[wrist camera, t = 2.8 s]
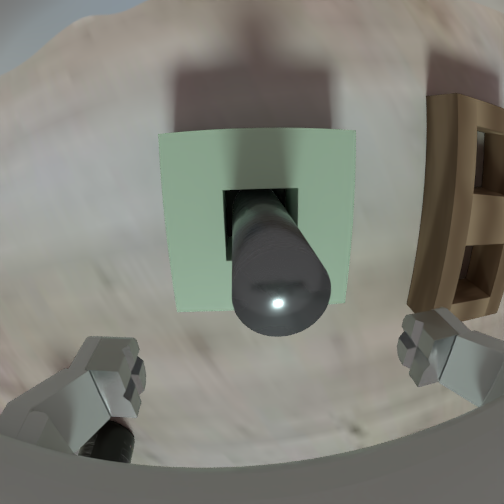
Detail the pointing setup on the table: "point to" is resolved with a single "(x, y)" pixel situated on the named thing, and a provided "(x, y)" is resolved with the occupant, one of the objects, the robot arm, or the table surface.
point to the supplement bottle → (110, 444)
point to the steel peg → (274, 268)
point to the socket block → (253, 177)
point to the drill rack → (461, 210)
